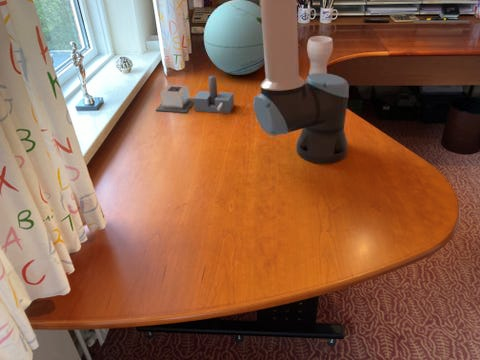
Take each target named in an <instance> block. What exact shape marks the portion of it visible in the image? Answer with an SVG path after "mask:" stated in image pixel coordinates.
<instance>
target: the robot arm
mask: <svg viewBox="0 0 480 360" xmlns="http://www.w3.org/2000/svg"><path fill="white" fill-rule="evenodd" d="M259 3H260V7H261V17H262V31H263V46H264V60H265V64H264V73H265V78H264V80H262V82H261V83H260V93H257V95H255V96H254V98H253V104H252V106H253V112H254V114H255V117H256V121H257V122H258V124H259V126H260V128H261V129H262V130H263V132H265V133H266V134H267V135H269V136H271V137H275V136H280V135H287V134H289V133H292V132H295V131H300V130H301V132H300V134H299V136H298V139H297V141H296V153H297V155H298V156H299V157H300V158H302V159H304V160H305V161H308V162H310V163H315V164H322V165H323V164H333V163H337V162H340V161H342V160H343V159H344V158H346V156H348V155H347V154H348V147H349V144H348V141H347V137H346V132H345V124H346V115H347V109H348V103H349V102H348V101H349V97H350V95H349V93H350V92H349V91H350V90H349V89H350V85H349V83H348V80H346V79H345V78H344V77H341V76H338V75H336V74H331V73H328V72H327V73H313V74H310V75H309V74H308V76H307V77H306V79H305V80H304V79H303V77H301V76H300V73H299V72H300V69H299V68H300V67H299V65H300V64H299V39H298V38H299V34H298V32H299V31H298V4H297V3H298V0H260V1H259ZM193 8H203V0H193Z"/></svg>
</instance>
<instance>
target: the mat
mask: <svg viewBox="0 0 480 360" xmlns="http://www.w3.org/2000/svg"><path fill="white" fill-rule="evenodd" d="M193 98H194V97H190V101H189V102H188V104H187V105H186V106H185V107H184V109H172V108H163V106H162V102H161V104H159V105H158V107H157V108H156V109H155V112H163V113H175V114H187V113H188V112H189V111H190V109H191V108H192V107H193V106H194V99H193Z"/></svg>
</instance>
